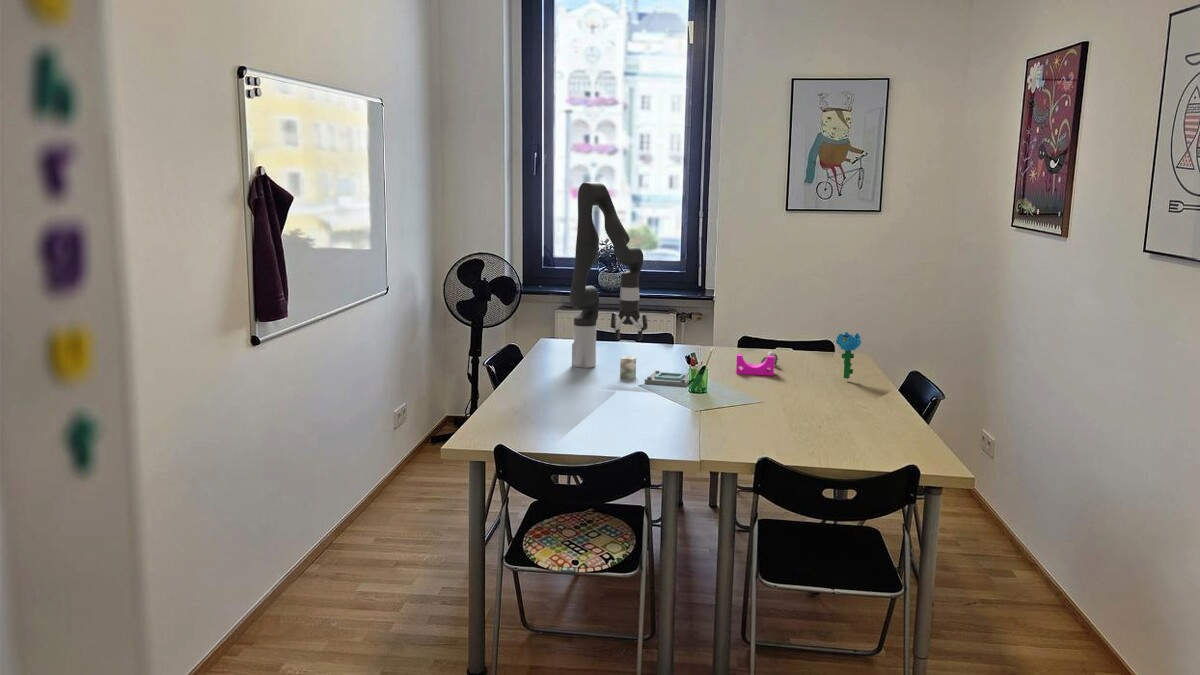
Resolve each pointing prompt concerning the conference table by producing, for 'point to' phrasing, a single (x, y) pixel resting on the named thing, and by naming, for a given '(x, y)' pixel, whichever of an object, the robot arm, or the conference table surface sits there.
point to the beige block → (628, 367)
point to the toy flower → (848, 350)
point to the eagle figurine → (771, 355)
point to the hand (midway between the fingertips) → (628, 339)
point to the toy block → (755, 367)
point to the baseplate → (667, 379)
